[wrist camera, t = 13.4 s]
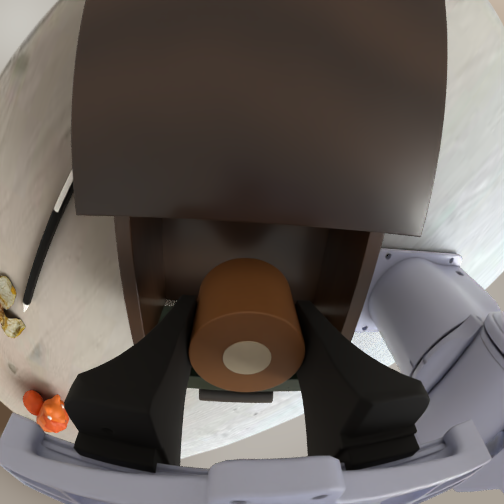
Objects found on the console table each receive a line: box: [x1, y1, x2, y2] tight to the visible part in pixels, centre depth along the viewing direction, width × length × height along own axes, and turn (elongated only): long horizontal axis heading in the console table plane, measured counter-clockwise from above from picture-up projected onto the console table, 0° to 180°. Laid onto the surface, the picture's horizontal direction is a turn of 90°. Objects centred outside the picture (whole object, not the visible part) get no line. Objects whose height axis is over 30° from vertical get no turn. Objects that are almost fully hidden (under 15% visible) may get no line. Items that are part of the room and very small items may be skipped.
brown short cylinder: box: [188, 258, 305, 392], centre depth 12 cm, size 4×4×4 cm
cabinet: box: [71, 0, 447, 237], centre depth 12 cm, size 14×15×9 cm
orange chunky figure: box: [23, 390, 69, 433], centre depth 28 cm, size 5×8×12 cm
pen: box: [23, 170, 74, 312], centre depth 19 cm, size 1×19×1 cm, turn 140°
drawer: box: [114, 216, 384, 403], centre depth 18 cm, size 17×13×7 cm
